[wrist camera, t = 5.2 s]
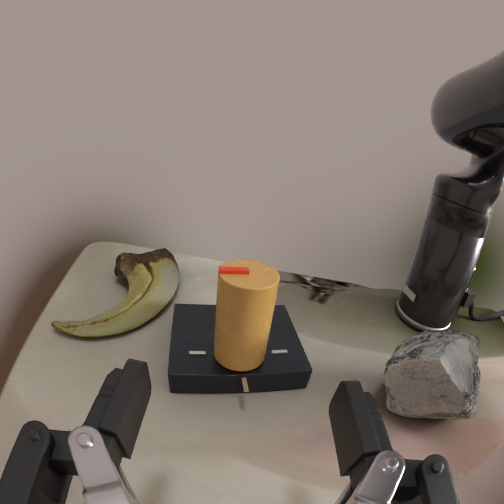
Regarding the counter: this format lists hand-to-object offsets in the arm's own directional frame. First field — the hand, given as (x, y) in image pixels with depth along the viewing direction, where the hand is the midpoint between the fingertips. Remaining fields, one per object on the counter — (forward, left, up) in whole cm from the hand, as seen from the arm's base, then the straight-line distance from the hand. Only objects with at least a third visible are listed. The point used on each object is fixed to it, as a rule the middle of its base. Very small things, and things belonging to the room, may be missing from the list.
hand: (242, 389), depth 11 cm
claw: (+11, -22, -11) cm, 27 cm away
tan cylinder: (-2, -10, -8) cm, 13 cm away
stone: (-18, -3, -11) cm, 21 cm away
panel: (-2, -13, -11) cm, 17 cm away
